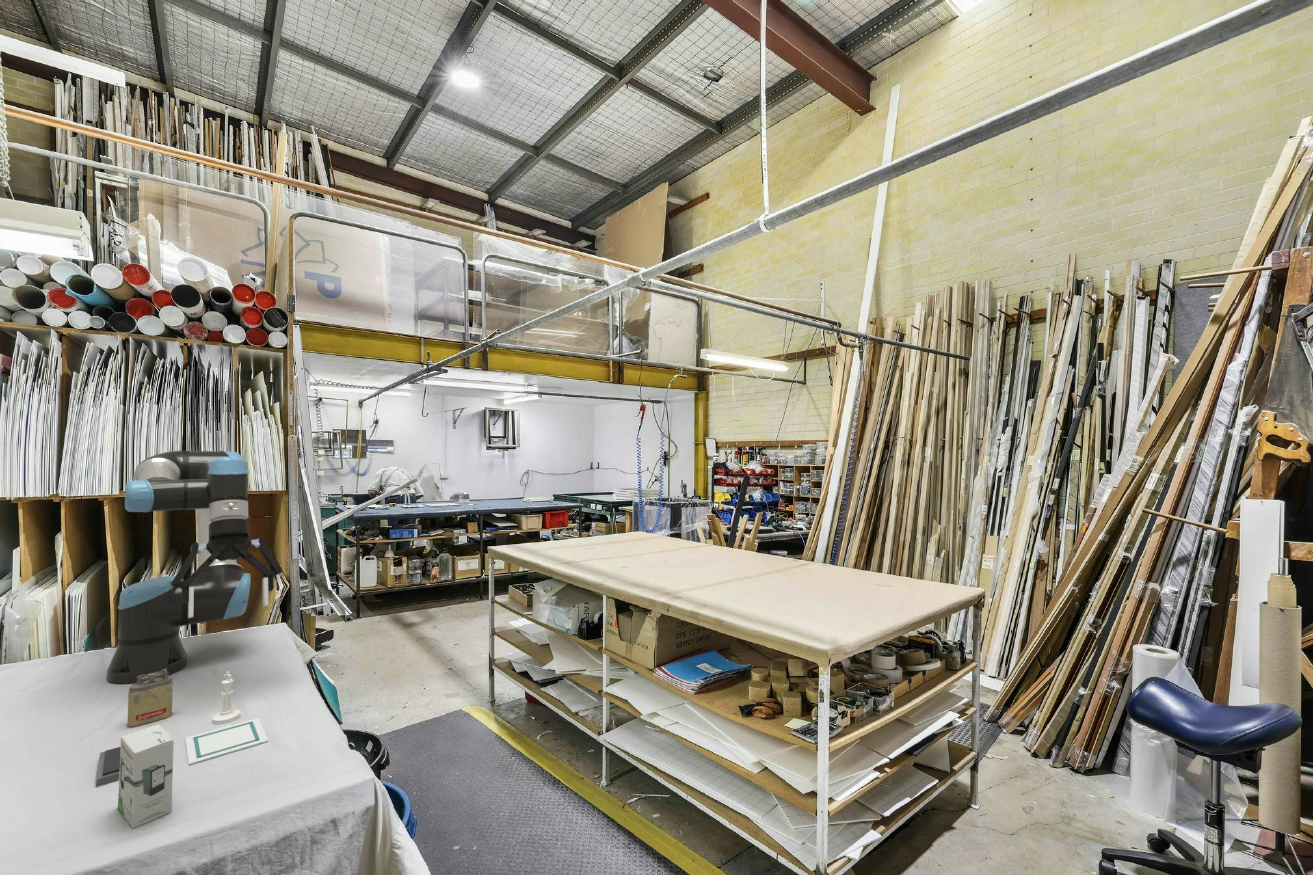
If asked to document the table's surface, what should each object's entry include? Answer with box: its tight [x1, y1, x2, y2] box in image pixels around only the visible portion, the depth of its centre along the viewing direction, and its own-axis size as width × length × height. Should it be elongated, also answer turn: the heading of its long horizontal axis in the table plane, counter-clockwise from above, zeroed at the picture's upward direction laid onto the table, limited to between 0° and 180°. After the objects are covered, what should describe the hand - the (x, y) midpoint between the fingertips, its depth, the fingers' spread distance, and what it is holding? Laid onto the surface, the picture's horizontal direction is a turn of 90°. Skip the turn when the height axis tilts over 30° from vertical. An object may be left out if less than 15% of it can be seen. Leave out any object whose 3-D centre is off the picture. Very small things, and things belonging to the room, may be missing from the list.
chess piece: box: [211, 671, 242, 725], centre depth 117 cm, size 5×5×10 cm
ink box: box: [117, 724, 175, 829], centre depth 88 cm, size 9×5×12 cm, turn 56°
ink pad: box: [95, 746, 121, 787], centre depth 100 cm, size 11×8×2 cm
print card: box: [184, 717, 269, 766], centre depth 108 cm, size 12×12×1 cm
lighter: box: [126, 669, 174, 727], centre depth 116 cm, size 7×4×10 cm, turn 140°
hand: (229, 611), depth 124 cm, fingers open, 13 cm apart
